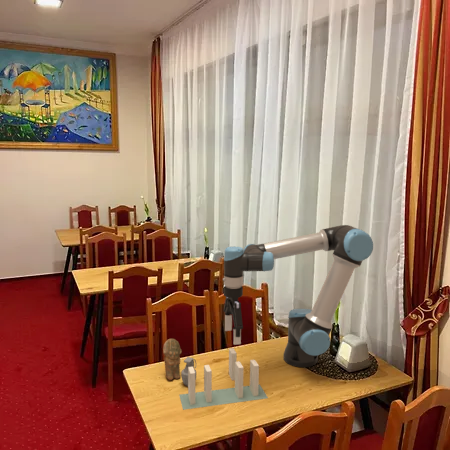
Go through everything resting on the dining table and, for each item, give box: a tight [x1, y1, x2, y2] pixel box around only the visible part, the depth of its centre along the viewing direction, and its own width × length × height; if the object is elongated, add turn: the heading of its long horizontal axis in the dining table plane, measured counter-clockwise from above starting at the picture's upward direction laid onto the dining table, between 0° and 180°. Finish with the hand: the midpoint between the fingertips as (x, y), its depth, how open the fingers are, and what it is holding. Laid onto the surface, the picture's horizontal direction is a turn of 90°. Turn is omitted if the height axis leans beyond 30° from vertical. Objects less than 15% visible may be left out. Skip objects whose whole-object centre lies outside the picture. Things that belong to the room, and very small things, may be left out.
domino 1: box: [187, 367, 196, 405], centre depth 155 cm, size 2×5×12 cm, turn 14°
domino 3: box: [228, 347, 238, 381], centre depth 172 cm, size 2×5×12 cm, turn 14°
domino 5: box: [249, 359, 260, 396], centre depth 160 cm, size 2×5×12 cm, turn 14°
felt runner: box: [178, 383, 269, 411], centre depth 158 cm, size 32×10×1 cm, turn 104°
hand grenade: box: [180, 356, 197, 387], centre depth 167 cm, size 6×6×11 cm
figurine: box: [162, 338, 182, 381], centre depth 173 cm, size 8×8×15 cm
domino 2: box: [203, 364, 213, 402], centre depth 156 cm, size 2×5×12 cm, turn 14°
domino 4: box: [234, 360, 244, 398], centre depth 159 cm, size 2×5×12 cm, turn 14°
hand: (232, 337), depth 170 cm, fingers open, 13 cm apart
